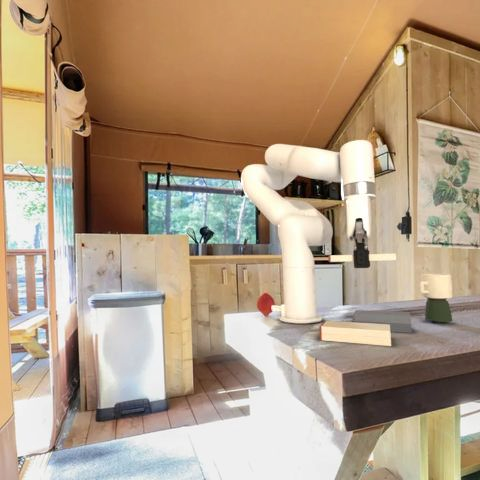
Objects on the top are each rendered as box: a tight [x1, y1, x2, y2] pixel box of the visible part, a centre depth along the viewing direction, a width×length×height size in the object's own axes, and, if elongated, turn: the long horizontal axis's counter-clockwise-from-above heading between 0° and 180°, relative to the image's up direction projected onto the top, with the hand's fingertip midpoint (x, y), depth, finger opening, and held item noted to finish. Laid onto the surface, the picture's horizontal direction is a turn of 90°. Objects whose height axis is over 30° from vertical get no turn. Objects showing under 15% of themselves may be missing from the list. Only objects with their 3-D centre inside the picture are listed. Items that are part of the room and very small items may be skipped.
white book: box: [328, 253, 397, 263], centre depth 72 cm, size 14×7×2 cm, turn 66°
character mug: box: [419, 273, 453, 324], centre depth 83 cm, size 11×7×13 cm, turn 107°
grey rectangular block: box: [351, 309, 413, 334], centre depth 77 cm, size 13×6×4 cm, turn 65°
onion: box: [256, 290, 276, 317], centre depth 99 cm, size 6×6×8 cm
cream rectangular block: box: [318, 320, 392, 347], centre depth 68 cm, size 14×7×3 cm, turn 65°
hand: (362, 267), depth 72 cm, fingers closed on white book, 7 cm apart
